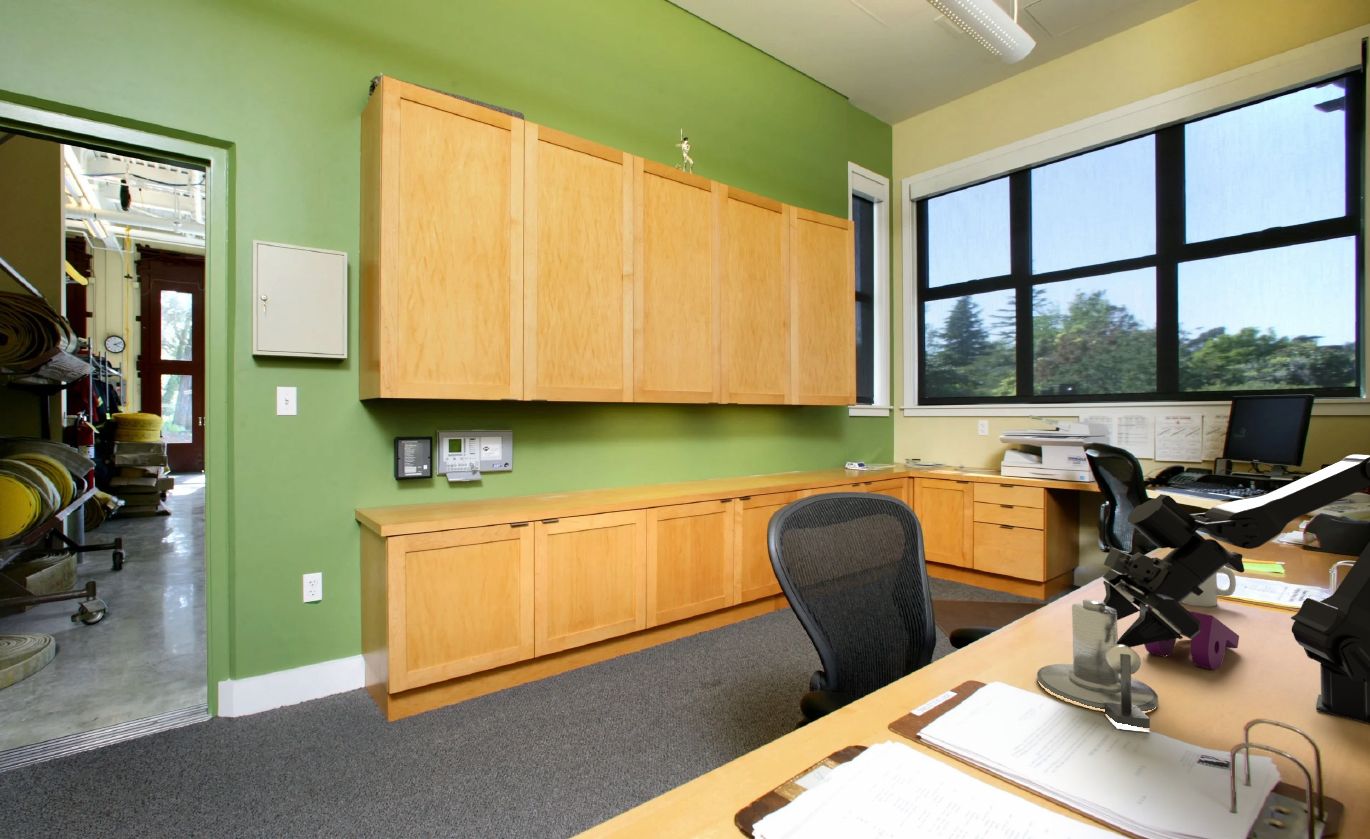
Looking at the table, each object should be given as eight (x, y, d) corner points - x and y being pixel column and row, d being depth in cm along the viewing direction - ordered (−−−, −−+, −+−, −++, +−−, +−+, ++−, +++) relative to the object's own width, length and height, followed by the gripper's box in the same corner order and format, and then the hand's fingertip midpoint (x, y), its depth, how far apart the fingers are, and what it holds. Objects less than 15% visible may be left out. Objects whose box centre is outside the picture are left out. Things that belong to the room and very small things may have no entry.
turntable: (1143, 726, 84) (1143, 717, 84) (1021, 689, 96) (1021, 681, 96) (1169, 691, 95) (1168, 684, 95) (1056, 661, 107) (1056, 655, 107)
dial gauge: (1150, 733, 82) (1148, 654, 83) (1117, 729, 83) (1115, 651, 84) (1136, 718, 86) (1134, 643, 86) (1104, 715, 87) (1103, 641, 87)
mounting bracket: (1177, 669, 117) (1139, 647, 108) (1184, 627, 119) (1147, 602, 110) (1240, 686, 109) (1205, 664, 100) (1246, 641, 111) (1212, 615, 102)
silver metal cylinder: (1128, 696, 91) (1127, 611, 91) (1073, 688, 94) (1071, 606, 94) (1117, 677, 97) (1115, 598, 97) (1065, 670, 100) (1064, 594, 100)
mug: (1163, 599, 141) (1162, 554, 142) (1178, 593, 146) (1177, 549, 146) (1229, 613, 131) (1228, 563, 131) (1243, 606, 136) (1241, 558, 136)
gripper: (1114, 522, 103) (1045, 583, 106) (1172, 544, 85) (1087, 617, 88) (1168, 569, 101) (1097, 630, 104) (1240, 601, 83) (1151, 674, 86)
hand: (1105, 635), depth 95 cm, fingers open, 9 cm apart
